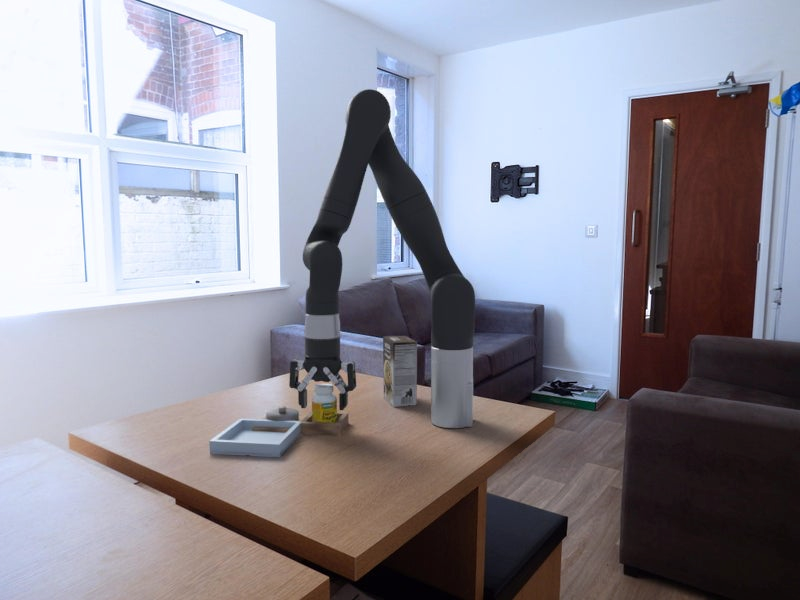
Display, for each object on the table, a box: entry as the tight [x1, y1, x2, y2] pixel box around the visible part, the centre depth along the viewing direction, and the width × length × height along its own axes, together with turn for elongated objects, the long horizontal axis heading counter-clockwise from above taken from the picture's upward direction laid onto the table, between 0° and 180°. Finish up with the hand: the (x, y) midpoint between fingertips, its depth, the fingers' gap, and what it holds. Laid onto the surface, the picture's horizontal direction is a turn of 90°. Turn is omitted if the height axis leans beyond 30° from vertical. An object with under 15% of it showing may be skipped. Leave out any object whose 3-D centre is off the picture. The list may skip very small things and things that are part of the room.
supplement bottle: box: [311, 383, 338, 423], centre depth 124 cm, size 5×5×10 cm
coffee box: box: [382, 335, 418, 408], centre depth 145 cm, size 9×6×16 cm
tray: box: [209, 418, 302, 458], centre depth 116 cm, size 14×14×2 cm
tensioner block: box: [252, 405, 350, 437], centre depth 125 cm, size 19×10×4 cm, turn 82°
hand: (323, 408), depth 125 cm, fingers open, 8 cm apart
